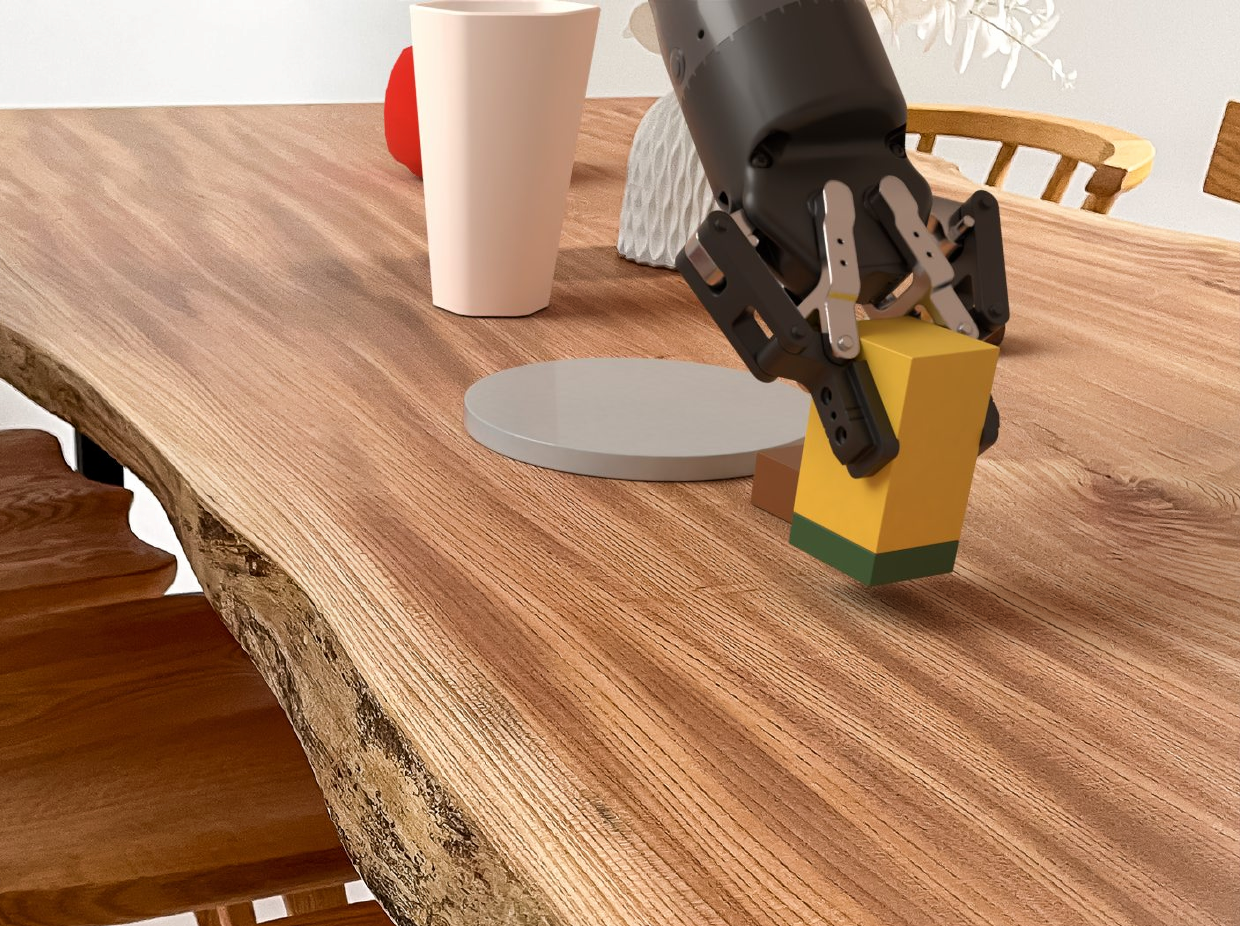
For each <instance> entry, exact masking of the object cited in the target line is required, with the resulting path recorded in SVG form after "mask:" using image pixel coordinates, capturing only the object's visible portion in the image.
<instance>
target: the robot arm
mask: <svg viewBox="0 0 1240 926" xmlns="http://www.w3.org/2000/svg"><path fill="white" fill-rule="evenodd" d="M647 1H648V4H649V7H650V11H651V15H652V18H653V22H654V23H653V24H654V27H655V32H656V38H657V43H658V46H659V51H660V55H661V57H662V61H663V63H664V64H663V65H664V66H665V69H666V72H667V75H668V77H669V80H670V83H671V86H672V88H673V91H674V93H675V96H676V99H677V102H678V105H679V107H680V110H681V113H682V116H683V118H684V121H685V123H686V125H687V129H688V131H689V134H690V136H691V138H692V142H693V144H694V147H695V151H696V152H697V155H698V158H699V160H700V161H699V162H700V164H701V166H702V169H703V171H704V174H705V176H706V180H707V183H708V184H709V188H710V190H711V192H712V195H713V197H714V200H715V203H716V204H717V206H718V207H719V208H720V209H721V210H718V209H717V210H711V211H710V212H709V214H708V215H707V216H706V217H705V218H704V219H703V221H702V222H701V224H699V226H698V227H697V229H696V230H695V231H694V233H693V234H692V235H690V237H689V239H688V240H687V241H686V243H685V244H684V245H683V246H682V247H681V249H680V250H679V252H678V253H677V254H676V255H675V258H674V264H675V267H676V269H677V271H678V273H679V274H680V275H681V277H682V278H683V280H684V281H685V282H686V283H687V285H688V287H689V288H690V289H691V290H692V293H694V295H695V296H696V298H697V299H698V300H699V302H700V303H701V305H702V306H703V308H704V309H705V311H707V313H708V314H709V316H710V317H711V319H712V320H713V321H714V323H715V324H716V325H717V327H718V329H719V330H720V331H721V332H722V333H723V335H724V337H725V338H726V340H727V341H728V342H729V344H730V345H731V347H732V348H733V350H734V351H735V352H736V354H737V355H738V356H739V358H740V359H741V360H742V362H743V363H744V365H745V366H746V368H747V369H748V371H749V372H750V373H752V374H753V376H754V377H755V378H756V379H758V380H759V381H761V382H764V383H771V382H773V381H775V380H778V378H782V379H786V380H789V381H794V382H796V384H797V386H798V387H799V389H800V390H801V391H803V392H805V393H807V394H809V395H810V396H811V397H812V398H813V401H814V404H815V406H816V409H817V412H818V414H819V417H820V420H821V422H822V425H823V428H825V433H826V436H827V438H829V444H830V446H831V449H832V452H833V454H834V455H835V457H836V458H837V459H838V460H839V462H840V463H841V464H842V466H843V465H846V467H847V470H848V472H849V474H850V476H851V477H852V478H854V479H860V478H867V477H872V476H874V475H875V474H876V473H877V472H879V471H880V470H881V469H882V468H883V467H885V466H886V465H887V464H888V463H889V462H891V461H892V460H893V459H895V458H896V457H897V455H898V453H899V449H900V444H899V440H898V439H897V438H896V435H895V433H894V430H893V428H892V425H891V422H890V420H889V417H888V415H887V412H886V409H885V407H884V404H883V402H882V399H881V396H880V394H879V391H878V389H877V386H876V383H875V381H874V378H873V376H872V373H871V370H870V368H869V365H868V363H867V360H863V361H855V359H854V358H855V357H856V356H857V355H858V353H859V351H860V343H859V336H858V328H857V315H856V305H860V306H861V308H862V309H863V311H864V313H865V314H866V316H868V317H869V318H870V319H879V318H888V317H897V316H907V315H909V316H911V317H914V318H917V319H920V320H922V319H921V312H922V310H923V309H924V308H925V309H926V310H927V312H928V313H929V315H930V316H931V318H932V320H933V321H934V323H935V324H936V325H937V326H940V327H943V328H946V329H949V330H952V331H954V332H957V333H960V334H963V335H966V336H969V337H972V338H975V339H977V340H980V341H983V342H984V341H985V340H986V339H987V338H988V337H989V336H991V335H992V334H993V333H994V332H995V331H997V330H999V329H1000V328H1001V327H1002V326H1003V325H1004V324H1005V325H1006V324H1007V323H1008V322H1009V321H1010V317H1011V314H1010V301H1009V291H1008V282H1007V272H1006V262H1005V253H1004V252H1005V251H1004V243H1003V234H1002V224H1001V213H1000V205H999V202H998V200H997V198H996V197H995V196H994V195H993V194H992V193H991V192H989V191H988V190H986V189H978V190H976V191H974V192H973V193H972V195H970V196H969V198H967V199H966V201H964V202H962V201H958V200H954V199H949V198H946V197H942V196H938V195H934V194H933V191H932V188H931V186H930V184H929V182H928V181H927V179H926V178H925V177H924V176H923V175H922V174H921V173H920V172H919V171H918V169H917V168H916V167H915V166H914V164H913V163H912V162H911V160H910V159H909V156H908V155H907V151H906V136H907V127H908V126H907V125H908V116H909V115H908V113H909V111H908V105H907V102H906V99H905V96H904V94H903V91H902V89H901V86H900V84H899V82H898V79H897V76H896V73H895V71H894V69H893V67H892V64H891V62H890V59H889V56H888V54H887V52H886V49H885V46H884V44H883V41H882V39H881V36H880V34H879V32H878V28H877V27H876V24H875V22H874V19H873V17H872V14H871V12H870V8H869V7H868V4H867V3H866V0H647ZM911 275H912V281H911V283H910V285H908V287H907V288H905V290H904V291H903V292H902V293H901V294H899V296H898V297H897V296H895V294H894V292H895V291H896V290H897V289H898V288H899V287H900V286H901V285H902V284H903V283H904V282H905V281H906V280H907V279H908V278H909V277H910V276H911ZM755 311H756V313H757V315H759V317H760V319H761V320H762V321H763V322H764V324H765V325H766V327H767V328H768V329H769V331H770V332H771V334H772V335H771V336H770V337H768V335H767V334H766V333H765V331H764V329H763V328H762V327H761V326H760V324H759V323H758V321H757V320H756V318H755ZM999 428H1001V418H1000V413H999V410H998V408H997V405H996V402H995V401H994V398H993V395H992V393H991V394H990V399H989V404H988V408H987V413H986V418H985V422H984V427H983V429H982V434H981V439H980V444H979V451H978V455H977V458H979V457H980V456H981V455H983V454H984V453H985V452H986V451H987V450H989V449H990V448H991V447H993V446H994V445H995V444H996V442H997V441H998V438H999V431H1000V430H999Z"/></svg>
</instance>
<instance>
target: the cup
mask: <svg viewBox="0 0 1240 926" xmlns="http://www.w3.org/2000/svg"><path fill="white" fill-rule="evenodd" d="M601 11H602V9H601V7H600V6H599V5H596V4H589V3H581V2H573V1H565V0H432V1H425V2H418V3H417V2H416V3H411V4H410V5H409V18H410V30H411V32H410V33H411V43H412V44H411V46H412V45H413V58H414V70H415V83H416V95H417V108H418V121H419V133H420V146H421V158H422V171H423V179H422V181H423V193H424V194H423V195H424V203H425V204H424V207H425V208H424V209H425V219H426V230H427V231H426V233H427V245H428V246H427V247H428V257H429V270H430V281H431V294H432V295H431V296H432V304H433V306H436V307H439V308H441V309H444V310H446V311H449V312H452V313H453V314H457V315H462V316H463V315H464V316H470V317H521V316H527V315H531V314H533V313H536V312H537V311H540V310H542V309H544V308H546V307H548V306H549V303H550V299H551V293H552V286H553V280H554V276H555V270H556V264H557V258H558V254H559V248H560V241H561V236H562V230H563V225H564V219H565V213H566V209H567V203H568V197H569V191H570V185H571V180H572V174H573V168H574V163H575V157H576V151H577V147H578V146H577V145H578V139H579V135H580V129H581V125H582V124H581V123H582V117H583V112H584V106H585V101H586V94H587V90H588V83H589V79H590V72H591V67H592V62H593V56H594V51H595V45H596V38H597V33H598V29H599V28H598V27H599V23H600V17H601Z"/></svg>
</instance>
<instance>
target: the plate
mask: <svg viewBox="0 0 1240 926" xmlns="http://www.w3.org/2000/svg"><path fill="white" fill-rule="evenodd" d="M811 398H812V396H811V394H810V393H807V392H805V391H803V390H802V389H801V388H797V387H796V386H793V385H791V384H788V383H786V382H784V381H780V380H778V379H776V380H775V381H773V382H771V383H764V382H761V381H759V380H758V379H756V378H755V377H754V376H753V374H752V373H751V372H750V371H746V370H740V369H737V368H731V367H726V366H720V365H715V364H709V363H701V362H694V361H687V360H685V361H684V360H677V359H676V360H675V359H665V358H663V359H662V358H648V357H647V358H645V357H581V358H580V357H579V358H566V359H557V360H556V359H555V360H548V361H547V360H546V361H541V362H534V363H529V364H524V365H523V364H522V365H519V366H513V367H510V368H505V369H503V370H500V371H497V372H493V373H491V374H488V375H486V376H484V377H482V378H481V379H479V380H476V382H474V383H473V384H472V385H470V386H469V387H468V389H466V391H465V393H464V397H463V404H462V405H463V407H462V408H463V409H462V422H463V427H464V429H465V430H466V432H467V433H468V435H469V436H470V437H471V438H473V439H474V440H475V442H477V443H479V444H480V445H482V446H483V447H485V448H487V449H489V450H490V451H493V452H496V453H498V454H499V455H502V456H505V457H508V458H511V459H513V460H516V461H519V462H522V463H526V464H530V465H533V466H537V467H542V468H546V469H551V470H555V471H559V472H565V473H571V474H576V475H583V476H589V477H597V478H607V479H616V480H627V481H628V480H629V481H646V482H648V481H649V482H694V481H712V480H727V479H734V478H740V477H741V478H742V477H748V476H754V471H755V463H756V456H757V451H762V450H769V449H776V448H783V447H790V446H797V445H804V442H805V436H806V430H807V423H808V417H809V411H810V404H811Z"/></svg>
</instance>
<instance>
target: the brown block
mask: <svg viewBox="0 0 1240 926" xmlns="http://www.w3.org/2000/svg"><path fill="white" fill-rule="evenodd" d="M803 448H804V445H797V446H790V447H783V448H776V449H769V450H762V451H757V456H756V463H755V471H754V475H753V479H752V485H751V494H750V502H749V503H750V505H753V506H755V507H757V508H759V509H761V510H763V511H765V512H767V513H769V514H771V515H773V516H775V517H777V518H778V519H781V520H783V521H785V522H788V523H789V524H790V525H791V524H792V517H793V513H794V505H795V499H796V492H797V486H798V480H799V474H800V467H801V461H802V455H803Z"/></svg>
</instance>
